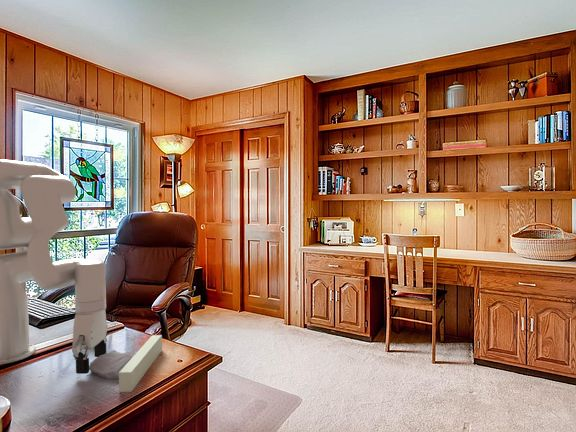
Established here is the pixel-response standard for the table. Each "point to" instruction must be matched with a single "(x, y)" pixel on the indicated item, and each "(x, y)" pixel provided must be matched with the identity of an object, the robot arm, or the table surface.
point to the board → (139, 364)
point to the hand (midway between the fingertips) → (92, 364)
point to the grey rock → (110, 364)
